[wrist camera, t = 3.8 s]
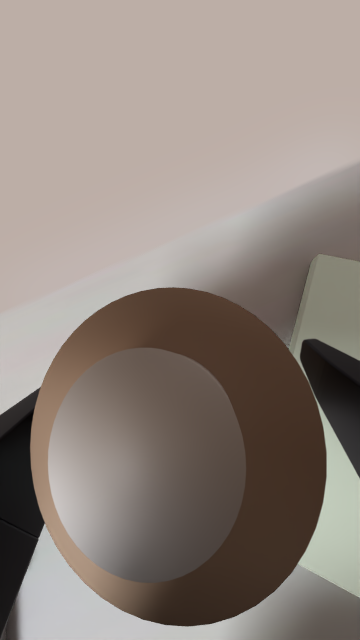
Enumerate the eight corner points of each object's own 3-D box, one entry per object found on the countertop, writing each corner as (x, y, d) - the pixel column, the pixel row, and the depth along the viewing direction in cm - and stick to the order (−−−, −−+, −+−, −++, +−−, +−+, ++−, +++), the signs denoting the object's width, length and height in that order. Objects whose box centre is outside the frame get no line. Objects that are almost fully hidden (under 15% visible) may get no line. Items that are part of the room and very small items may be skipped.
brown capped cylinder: (227, 431, 13) (317, 962, 1) (158, 401, 15) (-98, 562, 3) (248, 358, 14) (417, 319, 2) (181, 335, 16) (63, 234, 4)
